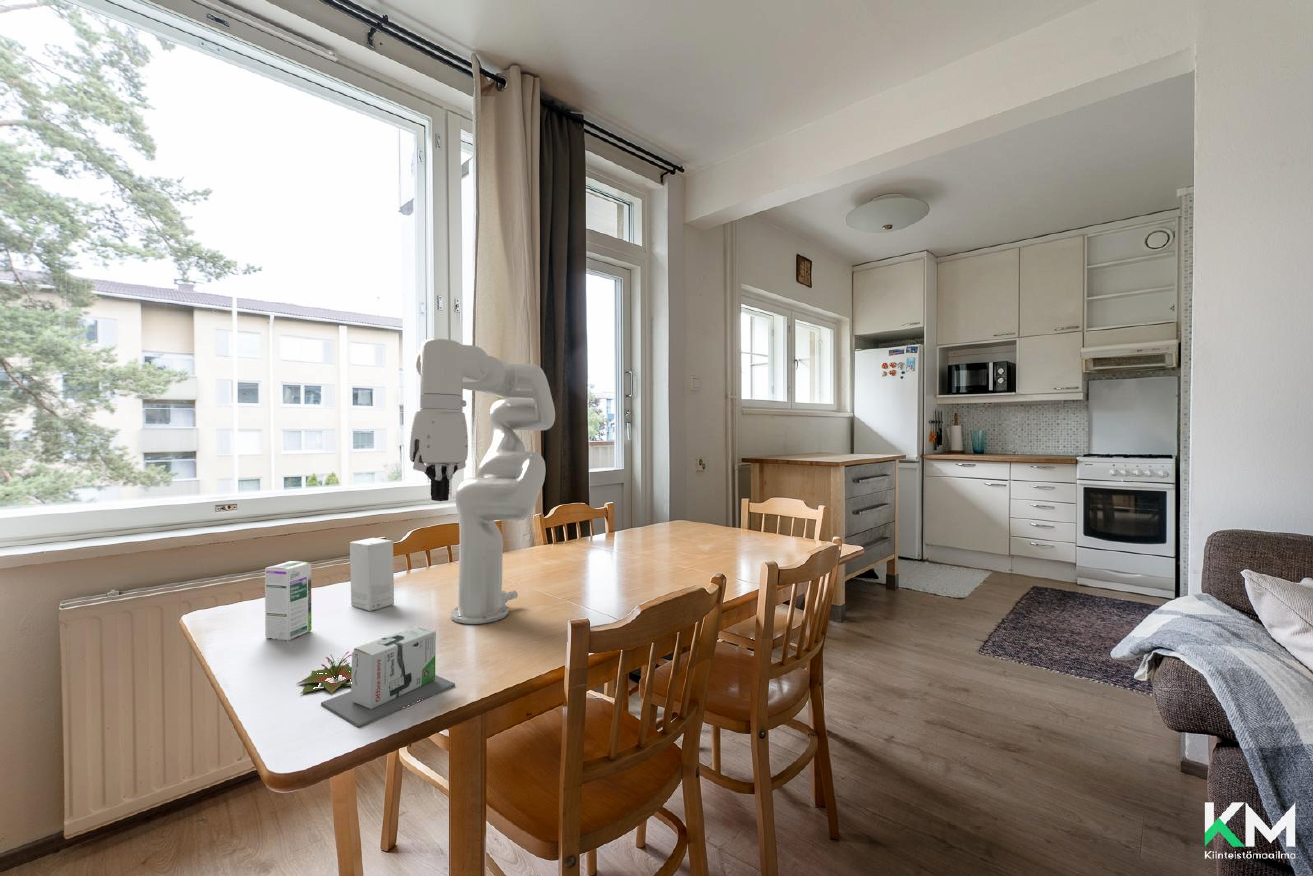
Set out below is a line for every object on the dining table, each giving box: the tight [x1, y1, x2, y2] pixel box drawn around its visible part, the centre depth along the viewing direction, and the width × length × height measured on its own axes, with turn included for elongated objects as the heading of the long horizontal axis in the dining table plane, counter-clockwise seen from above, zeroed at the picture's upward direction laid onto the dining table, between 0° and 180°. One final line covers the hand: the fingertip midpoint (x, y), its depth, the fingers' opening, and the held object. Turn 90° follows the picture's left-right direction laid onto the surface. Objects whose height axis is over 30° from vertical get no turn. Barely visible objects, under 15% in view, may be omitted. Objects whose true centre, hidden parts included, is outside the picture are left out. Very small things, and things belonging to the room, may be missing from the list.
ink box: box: [350, 625, 437, 709], centre depth 89 cm, size 9×5×12 cm
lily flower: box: [295, 651, 352, 695], centre depth 94 cm, size 12×12×5 cm
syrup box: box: [264, 560, 312, 642], centre depth 113 cm, size 6×6×14 cm
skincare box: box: [349, 537, 395, 612], centre depth 132 cm, size 8×7×16 cm
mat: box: [320, 674, 456, 728], centre depth 89 cm, size 16×11×1 cm
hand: (439, 500), depth 106 cm, fingers closed
